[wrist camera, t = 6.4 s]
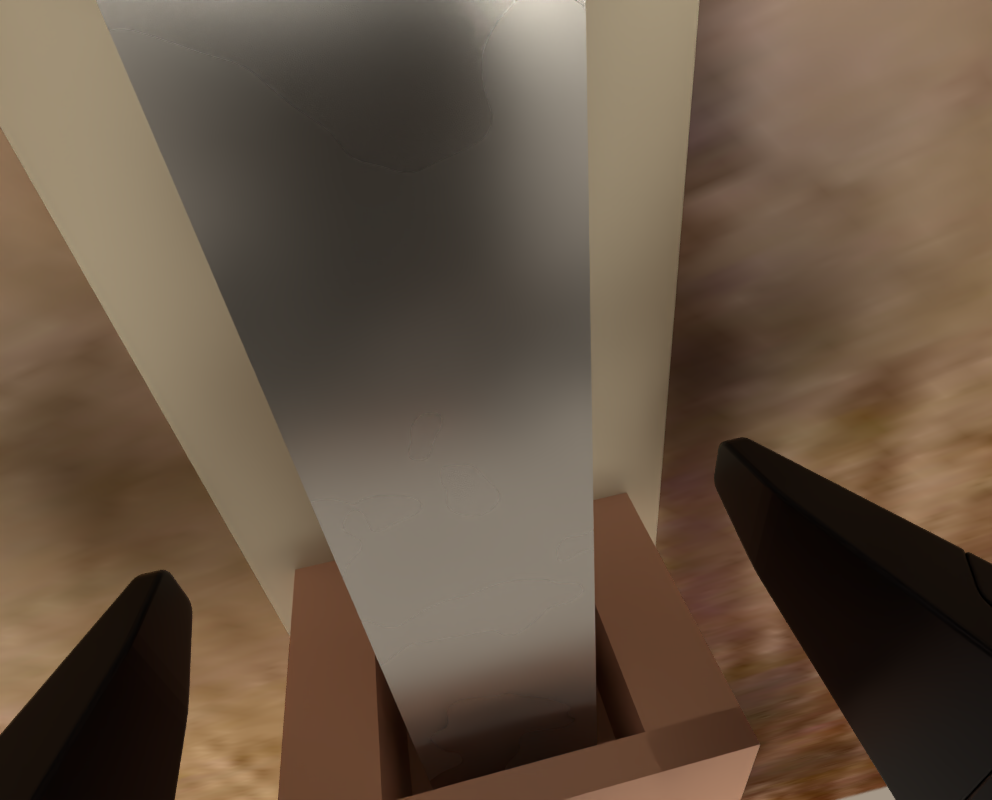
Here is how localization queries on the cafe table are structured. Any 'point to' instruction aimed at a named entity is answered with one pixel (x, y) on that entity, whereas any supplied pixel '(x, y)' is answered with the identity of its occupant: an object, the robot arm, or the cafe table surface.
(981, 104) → the cafe table surface
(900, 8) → the cafe table surface
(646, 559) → the terracotta socket
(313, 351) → the silver rectangular bar
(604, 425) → the base board
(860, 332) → the cafe table surface
